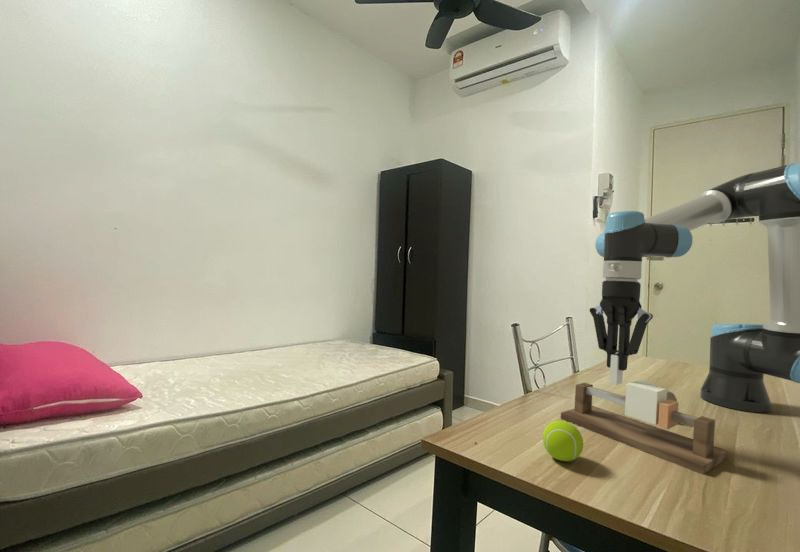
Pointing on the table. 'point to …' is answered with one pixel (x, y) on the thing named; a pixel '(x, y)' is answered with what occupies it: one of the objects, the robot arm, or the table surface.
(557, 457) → the tennis ball
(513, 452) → the table surface
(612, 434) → the rail stand
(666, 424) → the band
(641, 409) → the sleeve
